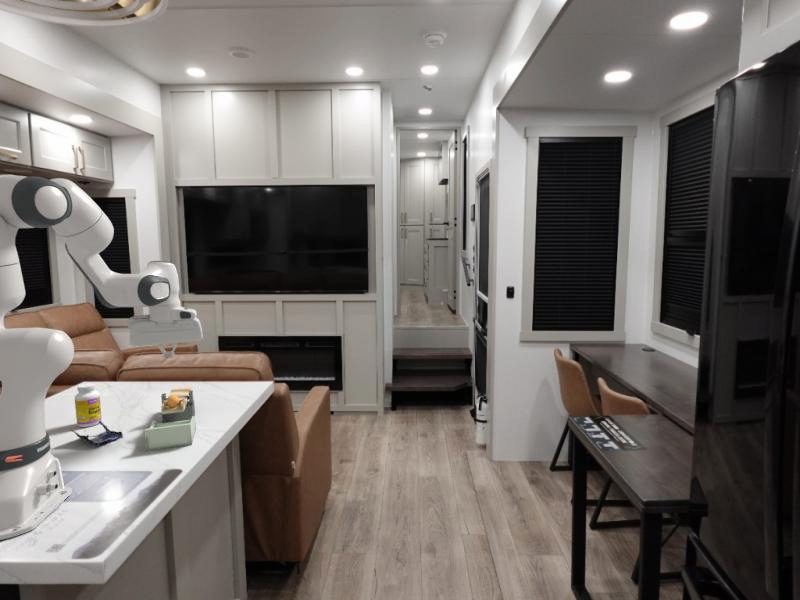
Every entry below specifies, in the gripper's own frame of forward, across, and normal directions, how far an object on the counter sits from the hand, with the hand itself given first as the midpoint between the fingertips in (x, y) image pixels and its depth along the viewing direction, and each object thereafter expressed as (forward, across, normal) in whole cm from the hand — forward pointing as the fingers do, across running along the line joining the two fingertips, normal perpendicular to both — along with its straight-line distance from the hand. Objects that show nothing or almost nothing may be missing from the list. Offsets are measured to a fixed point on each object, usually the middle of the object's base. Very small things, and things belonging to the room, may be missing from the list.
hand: (168, 357), depth 144 cm
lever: (+17, +1, +4) cm, 18 cm away
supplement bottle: (+22, -26, +11) cm, 36 cm away
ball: (+12, +1, -5) cm, 14 cm away
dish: (+22, +1, -12) cm, 25 cm away
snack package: (+22, -20, -5) cm, 30 cm away
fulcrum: (+22, +1, +4) cm, 22 cm away
